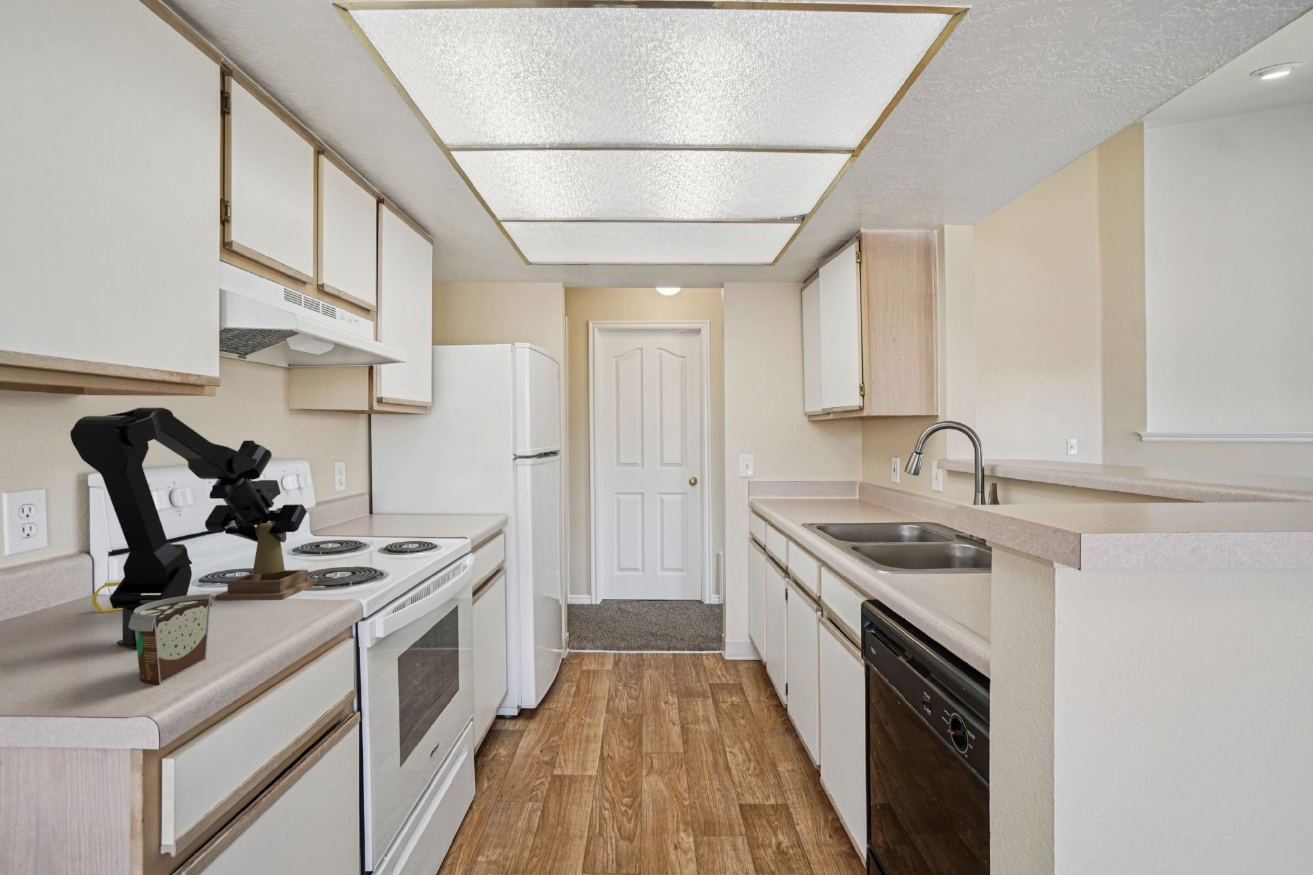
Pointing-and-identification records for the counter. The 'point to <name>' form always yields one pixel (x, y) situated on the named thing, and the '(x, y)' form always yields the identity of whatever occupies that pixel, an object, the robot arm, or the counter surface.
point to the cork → (267, 552)
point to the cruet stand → (267, 585)
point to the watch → (108, 583)
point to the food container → (171, 636)
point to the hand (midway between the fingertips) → (272, 540)
